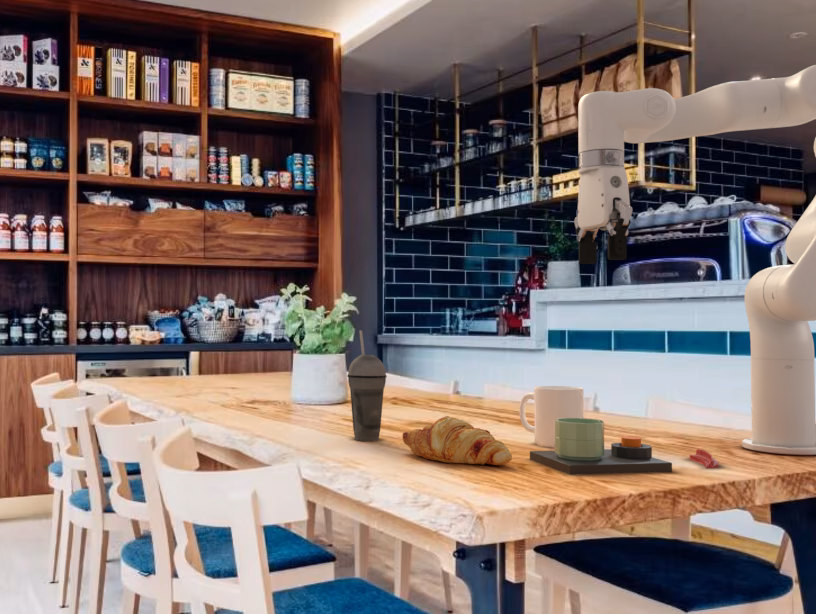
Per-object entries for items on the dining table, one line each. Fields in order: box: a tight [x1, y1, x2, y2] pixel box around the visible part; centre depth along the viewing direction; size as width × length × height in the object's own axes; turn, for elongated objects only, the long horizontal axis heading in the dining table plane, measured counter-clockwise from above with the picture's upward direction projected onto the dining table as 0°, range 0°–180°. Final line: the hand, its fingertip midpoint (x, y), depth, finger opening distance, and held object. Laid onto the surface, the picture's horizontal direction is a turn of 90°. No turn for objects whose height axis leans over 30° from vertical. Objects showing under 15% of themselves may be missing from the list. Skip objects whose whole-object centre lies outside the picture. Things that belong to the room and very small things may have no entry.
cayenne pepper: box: [689, 448, 719, 470], centre depth 129 cm, size 12×5×2 cm, turn 149°
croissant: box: [402, 415, 513, 466], centre depth 130 cm, size 21×10×8 cm, turn 42°
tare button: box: [620, 435, 642, 447], centre depth 127 cm, size 3×3×2 cm
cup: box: [519, 385, 585, 449], centre depth 148 cm, size 8×12×10 cm
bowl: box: [554, 417, 605, 461], centre depth 125 cm, size 7×7×6 cm
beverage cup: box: [347, 329, 387, 442], centre depth 153 cm, size 7×7×20 cm
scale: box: [529, 442, 673, 476], centre depth 126 cm, size 16×13×3 cm
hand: (602, 261), depth 144 cm, fingers open, 9 cm apart
